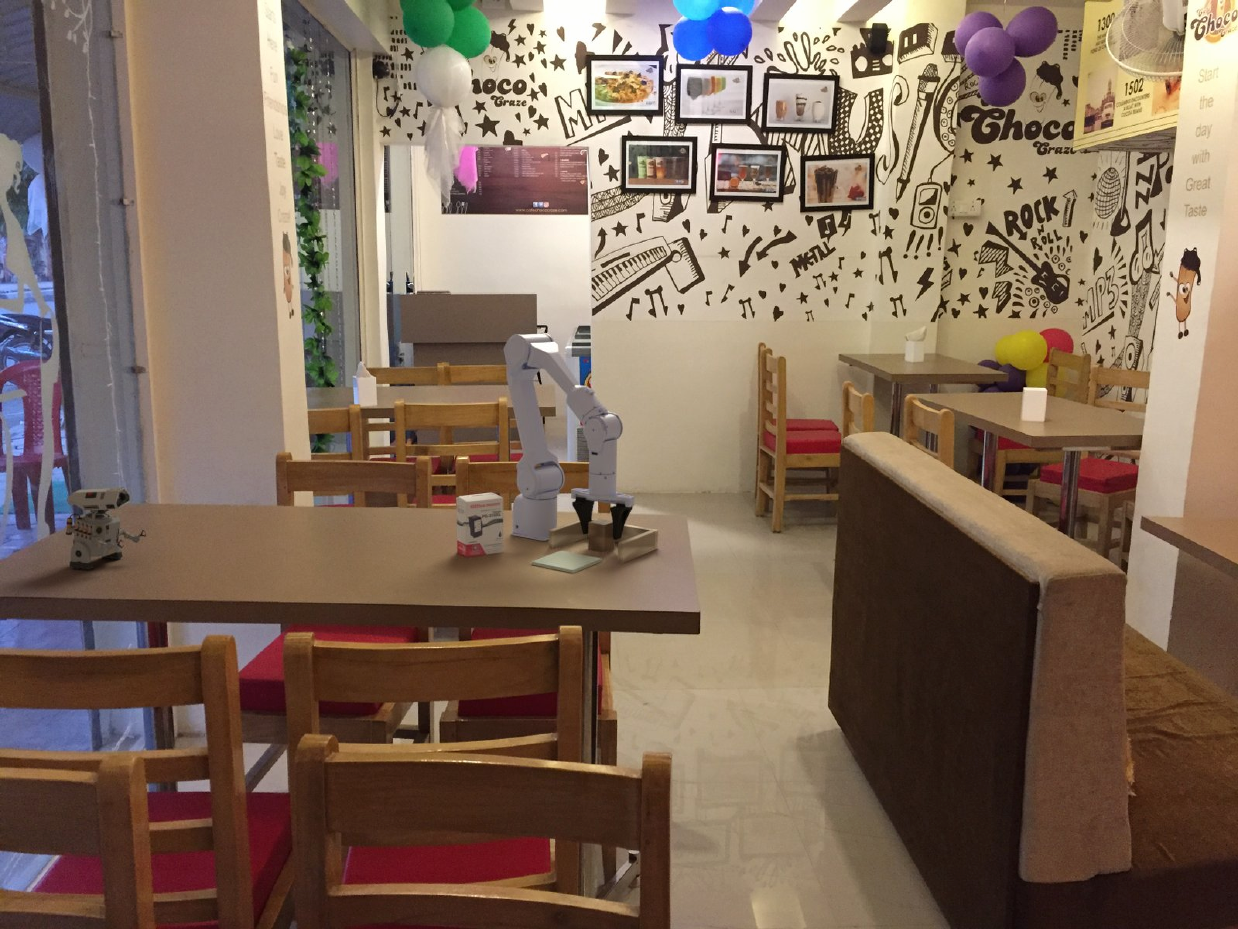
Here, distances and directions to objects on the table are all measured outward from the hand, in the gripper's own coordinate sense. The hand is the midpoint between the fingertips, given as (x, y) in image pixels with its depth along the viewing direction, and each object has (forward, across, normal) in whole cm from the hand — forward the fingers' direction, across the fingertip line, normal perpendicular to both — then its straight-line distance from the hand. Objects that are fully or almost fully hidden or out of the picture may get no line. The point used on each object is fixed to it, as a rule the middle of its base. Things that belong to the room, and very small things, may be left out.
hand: (601, 536), depth 210 cm
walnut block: (+3, 0, 0) cm, 3 cm away
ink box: (+3, -19, -16) cm, 25 cm away
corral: (+3, 0, 0) cm, 3 cm away
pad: (+3, 0, -12) cm, 13 cm away
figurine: (+3, -71, -66) cm, 97 cm away
